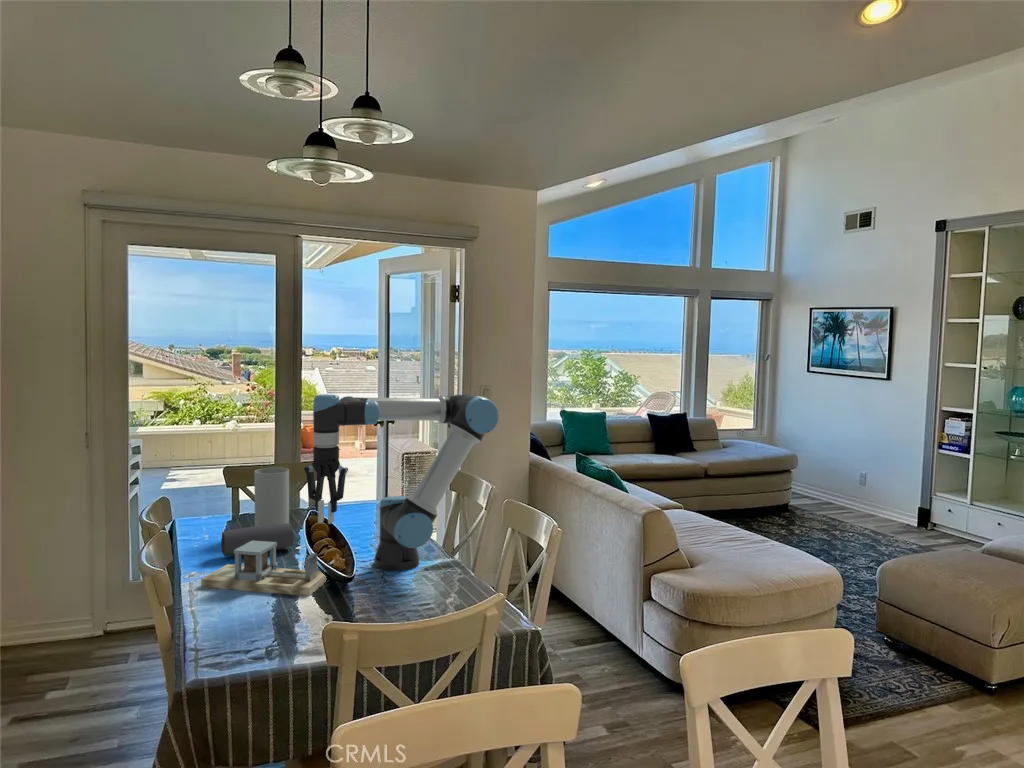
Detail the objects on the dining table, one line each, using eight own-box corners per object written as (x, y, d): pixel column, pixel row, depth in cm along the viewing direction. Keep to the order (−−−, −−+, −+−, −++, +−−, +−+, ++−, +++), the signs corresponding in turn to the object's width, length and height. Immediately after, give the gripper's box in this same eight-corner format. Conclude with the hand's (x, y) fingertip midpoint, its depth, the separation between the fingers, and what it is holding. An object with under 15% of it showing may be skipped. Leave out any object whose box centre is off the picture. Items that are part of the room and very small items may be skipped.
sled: (318, 574, 210) (318, 552, 209) (308, 582, 203) (308, 559, 203) (248, 569, 213) (247, 547, 213) (236, 576, 207) (236, 554, 207)
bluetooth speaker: (287, 545, 248) (287, 519, 247) (294, 552, 240) (294, 525, 239) (220, 555, 235) (220, 527, 234) (225, 563, 227) (225, 534, 227)
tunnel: (277, 570, 214) (277, 542, 213) (260, 581, 204) (260, 552, 203) (252, 568, 215) (251, 540, 215) (233, 579, 205) (233, 550, 204)
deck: (329, 579, 213) (329, 571, 213) (309, 595, 200) (309, 587, 199) (227, 571, 219) (227, 563, 218) (201, 587, 205) (201, 578, 205)
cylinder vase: (295, 533, 263) (295, 470, 261) (268, 540, 253) (268, 475, 251) (274, 528, 270) (274, 466, 268) (247, 535, 259) (247, 471, 258)
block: (267, 569, 212) (267, 552, 211) (259, 574, 207) (259, 557, 206) (252, 568, 212) (252, 551, 212) (244, 573, 207) (244, 556, 207)
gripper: (355, 444, 206) (355, 520, 207) (307, 442, 208) (307, 517, 210) (345, 448, 199) (345, 527, 200) (296, 446, 201) (296, 523, 202)
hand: (326, 522), depth 205 cm, fingers open, 3 cm apart
